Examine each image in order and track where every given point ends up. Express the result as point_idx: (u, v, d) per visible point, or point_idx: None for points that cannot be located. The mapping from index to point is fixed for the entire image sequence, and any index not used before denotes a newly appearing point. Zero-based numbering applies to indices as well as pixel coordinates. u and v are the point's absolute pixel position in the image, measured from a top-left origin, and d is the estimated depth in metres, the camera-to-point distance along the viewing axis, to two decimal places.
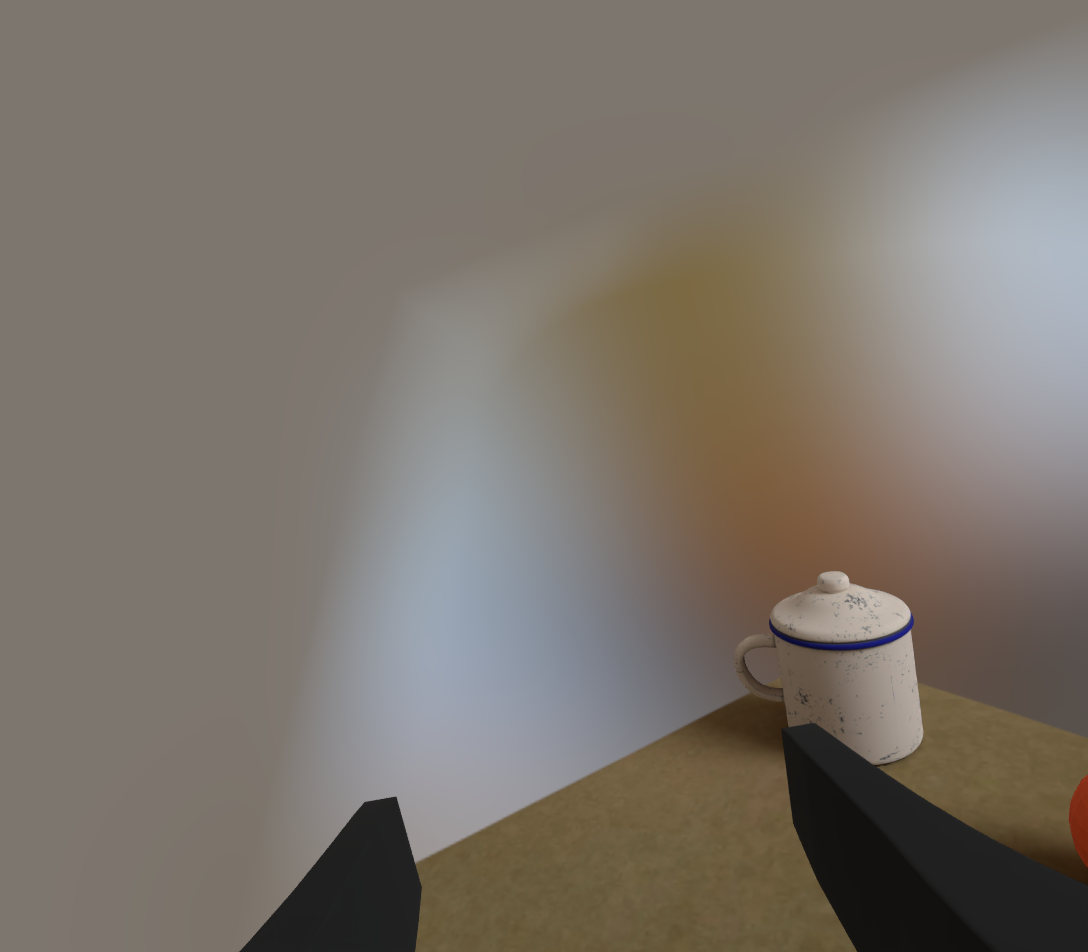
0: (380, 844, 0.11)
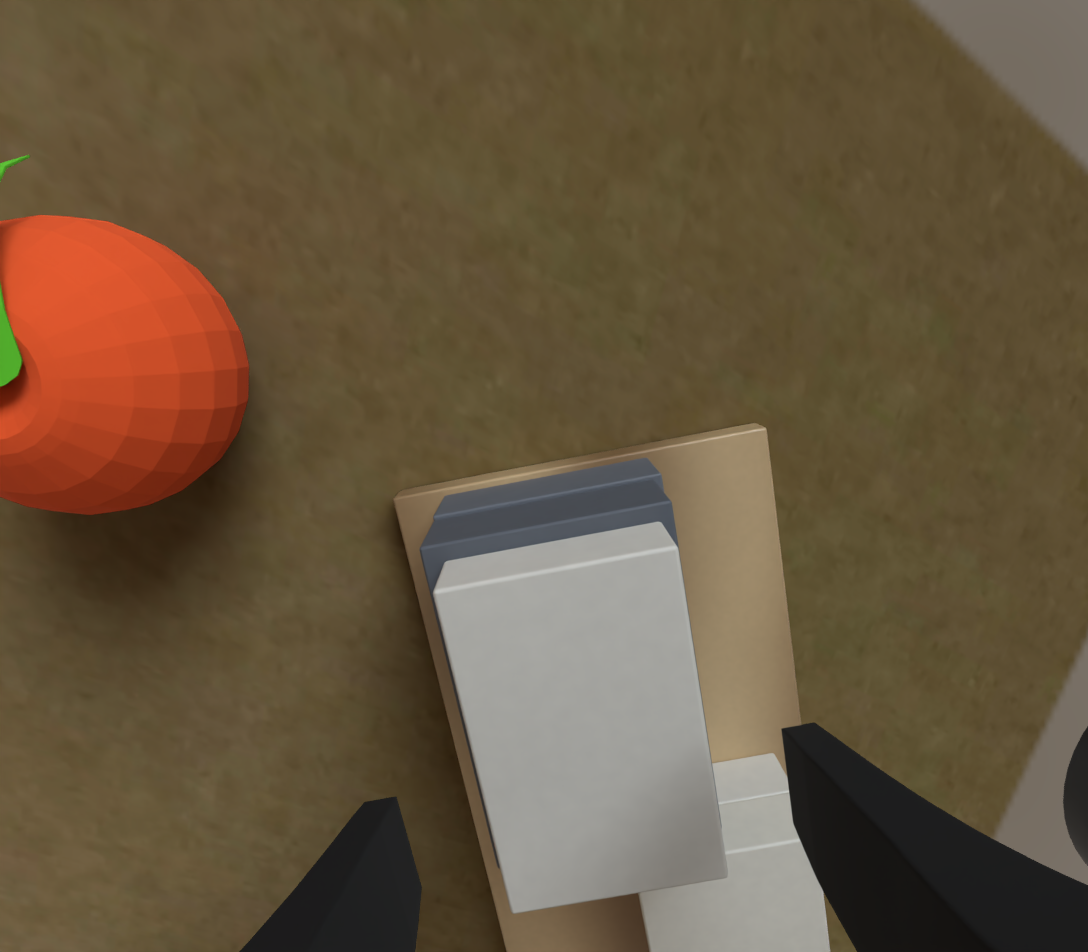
0: (380, 845, 0.11)
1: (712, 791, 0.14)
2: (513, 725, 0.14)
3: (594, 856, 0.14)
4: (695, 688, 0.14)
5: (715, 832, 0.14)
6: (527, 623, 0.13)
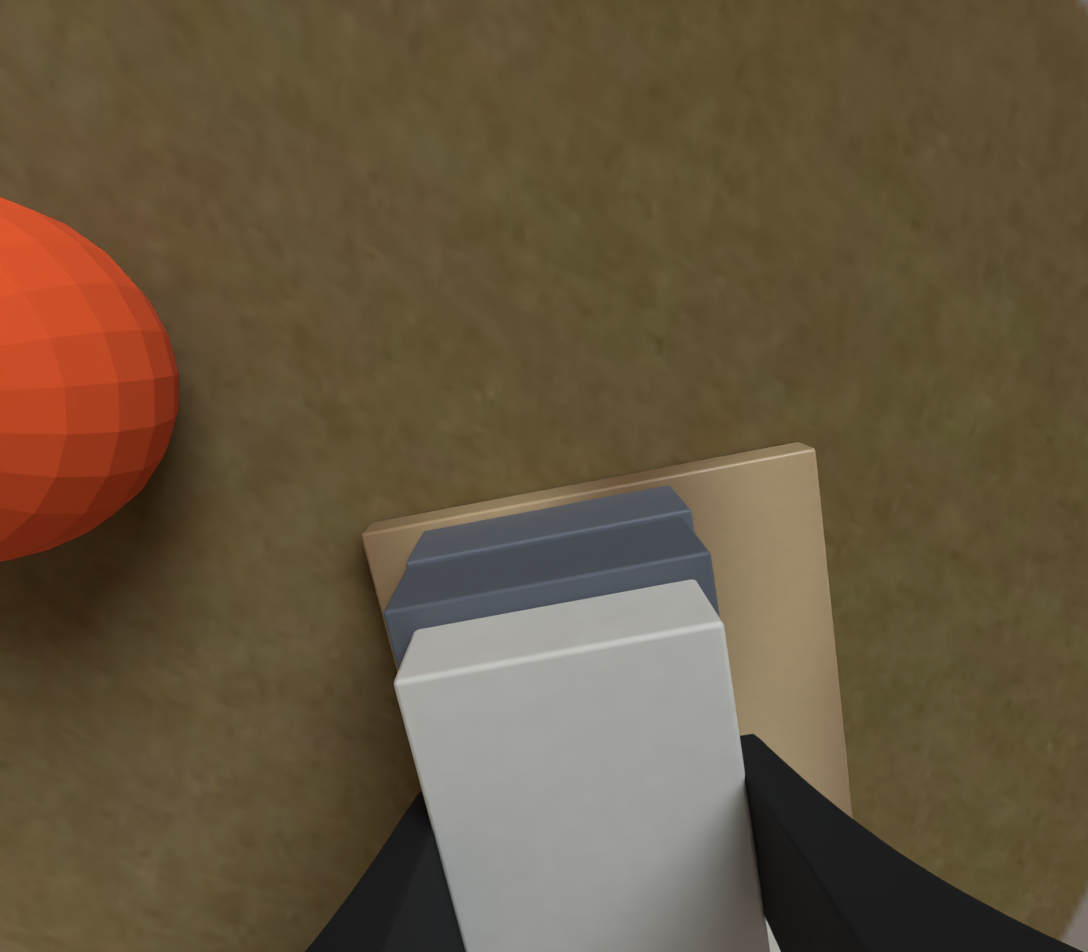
0: None
1: (764, 935, 0.11)
2: (501, 854, 0.10)
3: None
4: (744, 806, 0.10)
5: None
6: (520, 724, 0.10)
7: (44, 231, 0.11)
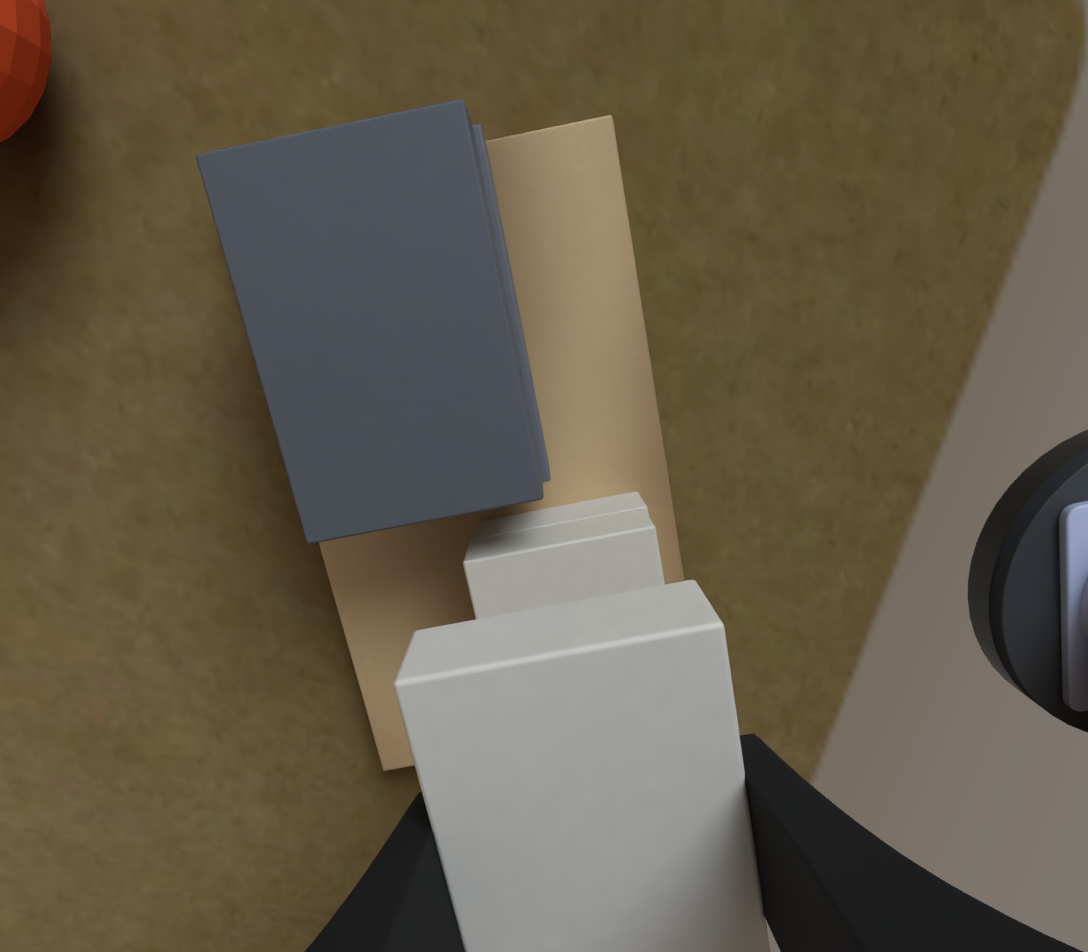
0: None
1: (764, 936, 0.11)
2: (502, 854, 0.10)
3: None
4: (744, 806, 0.10)
5: None
6: (520, 724, 0.10)
7: None
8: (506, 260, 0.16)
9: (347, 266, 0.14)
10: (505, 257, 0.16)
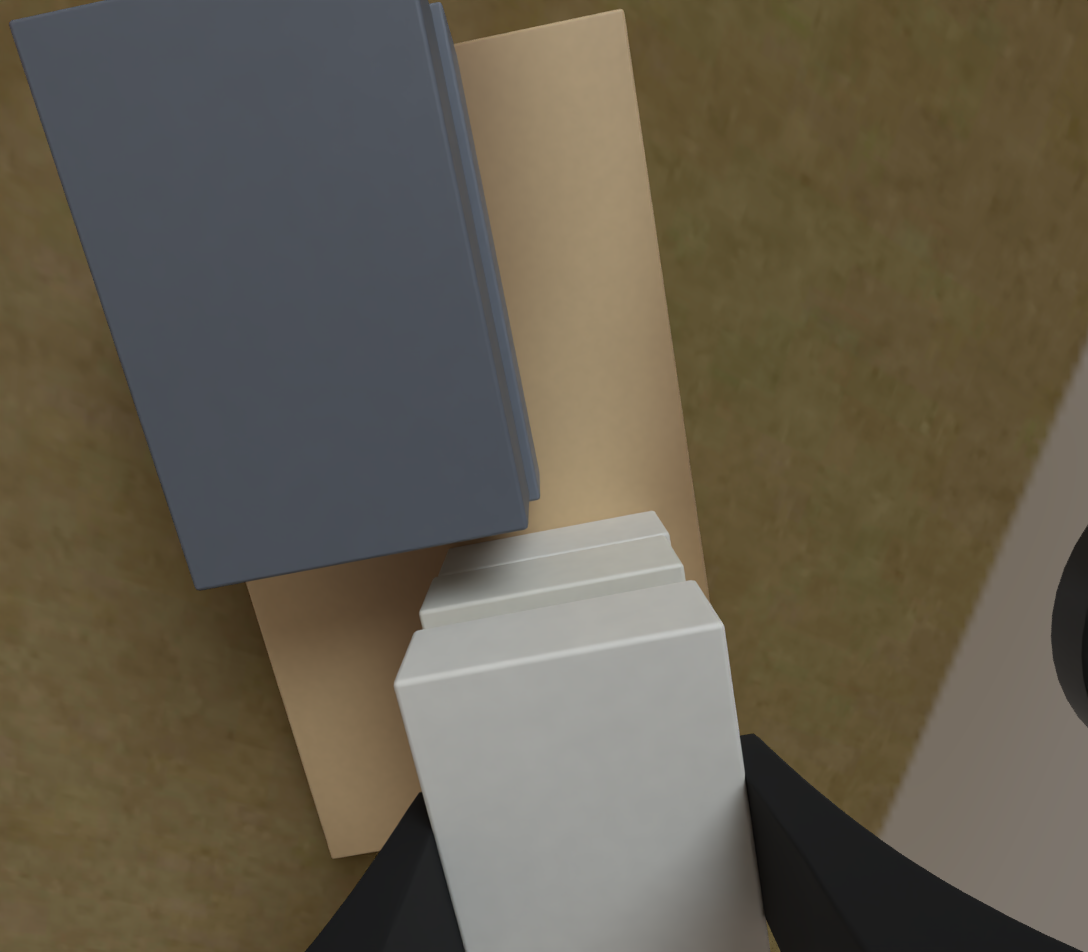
0: None
1: (764, 936, 0.11)
2: (501, 855, 0.10)
3: None
4: (744, 807, 0.10)
5: None
6: (520, 724, 0.10)
7: None
8: (478, 197, 0.12)
9: (239, 191, 0.10)
10: (477, 192, 0.12)
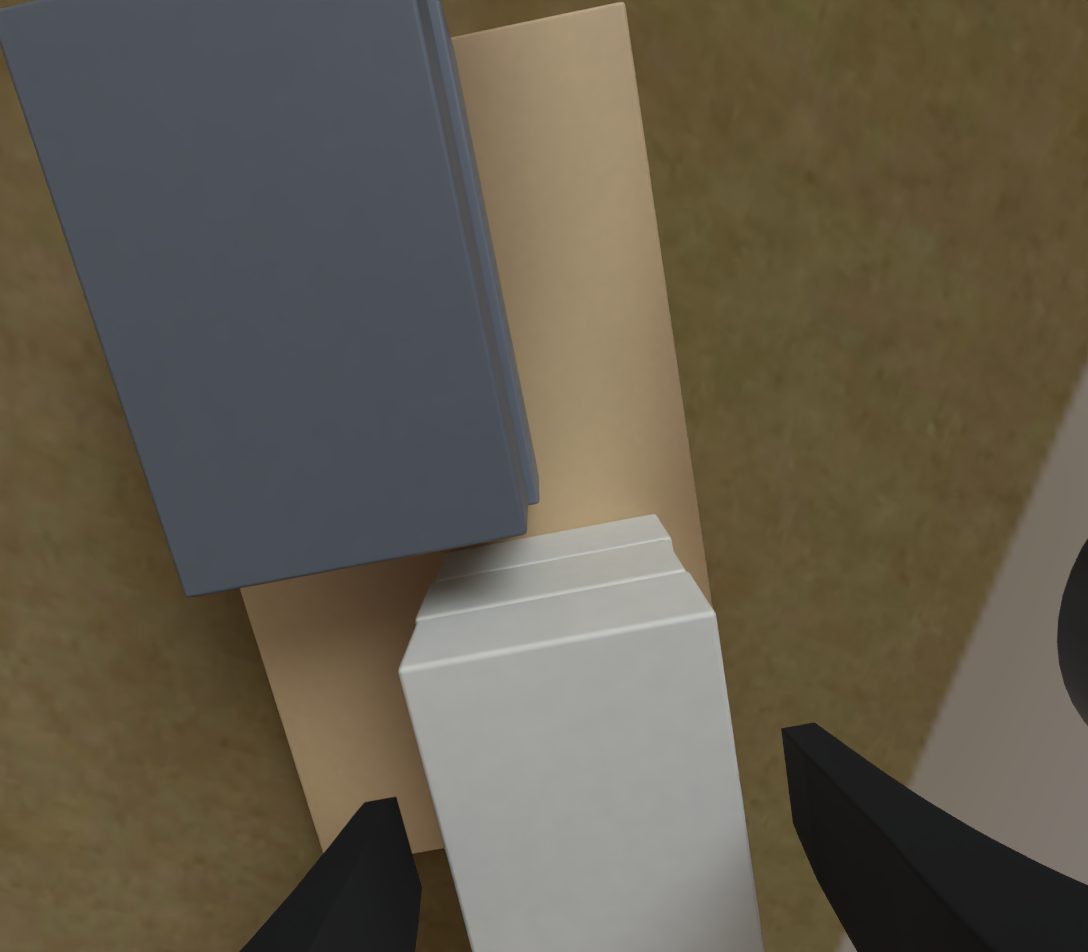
0: (380, 844, 0.11)
1: (755, 915, 0.11)
2: (501, 836, 0.11)
3: None
4: (735, 789, 0.11)
5: None
6: (520, 710, 0.10)
7: None
8: (476, 193, 0.12)
9: (229, 187, 0.09)
10: (474, 189, 0.12)
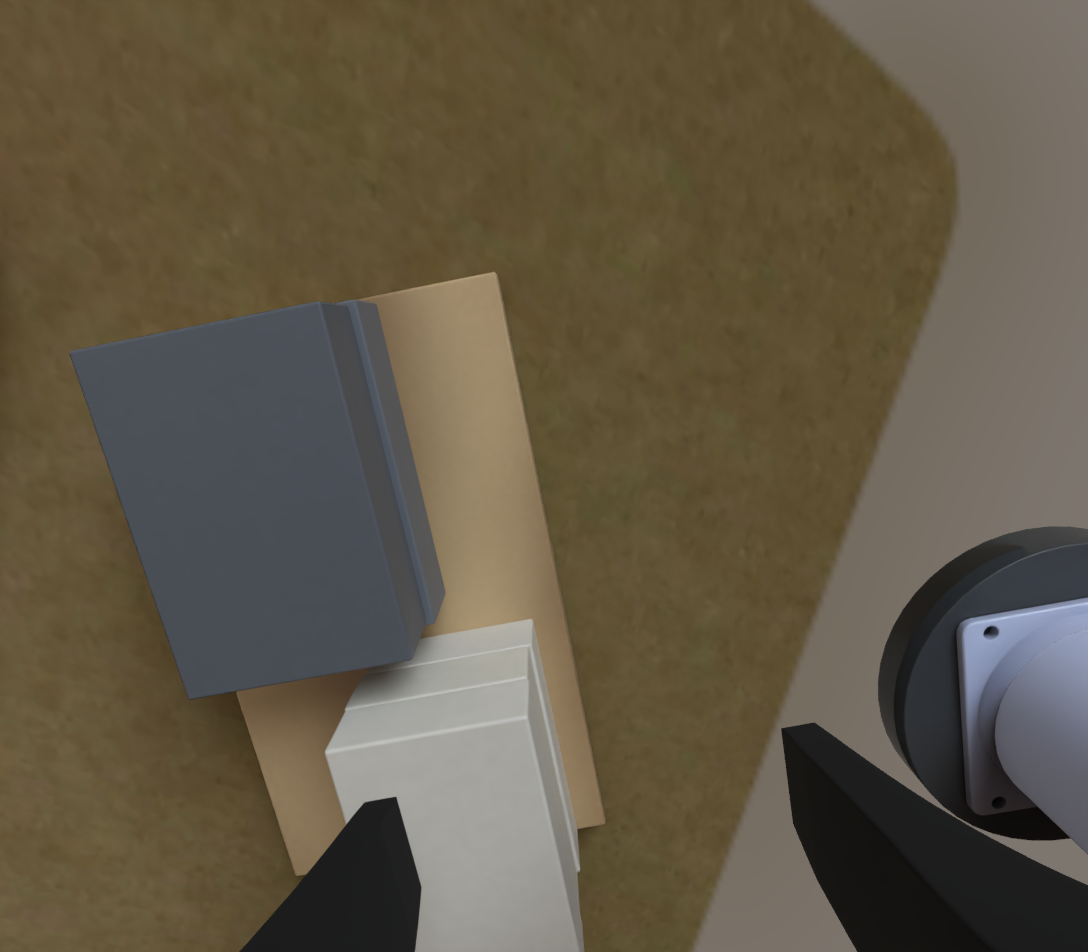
0: (380, 845, 0.11)
1: (567, 913, 0.17)
2: None
3: None
4: (548, 829, 0.16)
5: (571, 946, 0.17)
6: (403, 777, 0.16)
7: None
8: (384, 422, 0.17)
9: (215, 451, 0.15)
10: (383, 420, 0.17)
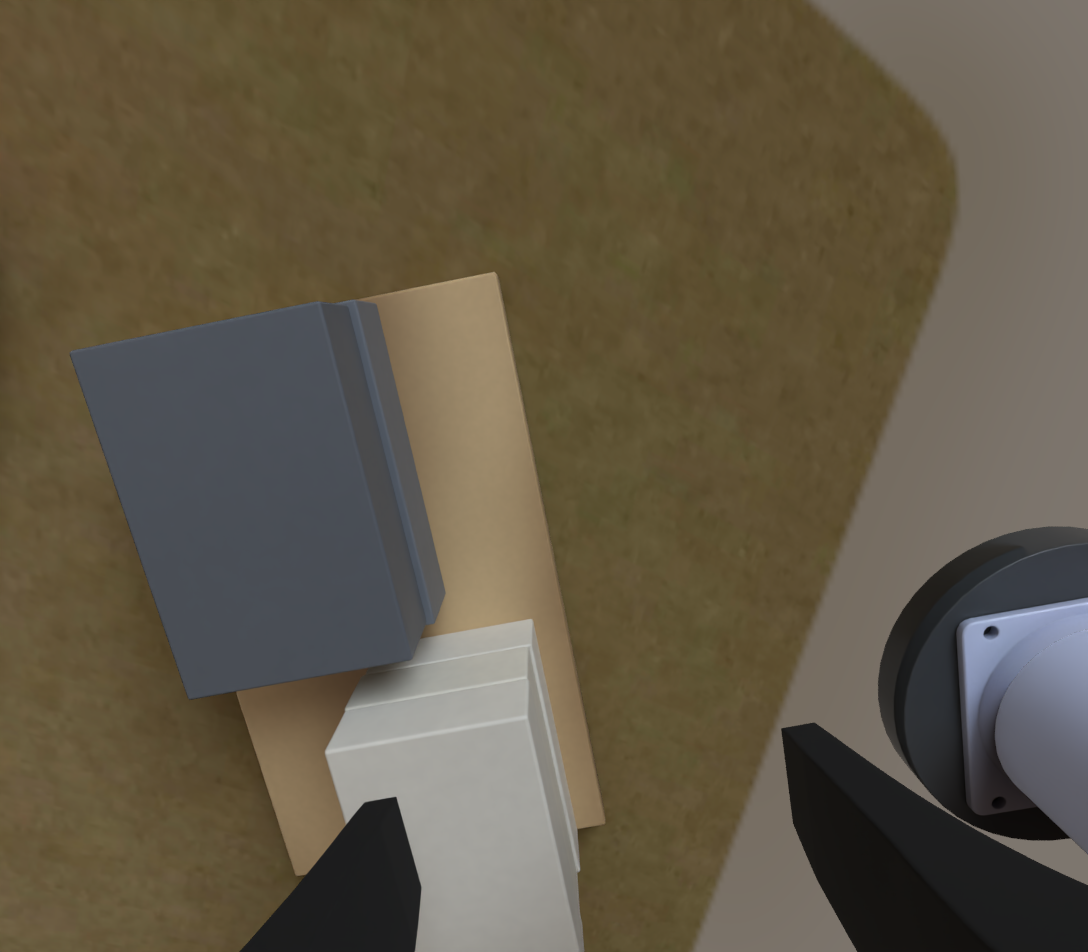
0: (380, 845, 0.11)
1: (567, 913, 0.17)
2: None
3: None
4: (548, 829, 0.16)
5: (571, 946, 0.17)
6: (403, 777, 0.16)
7: None
8: (384, 422, 0.17)
9: (215, 451, 0.15)
10: (383, 420, 0.17)
